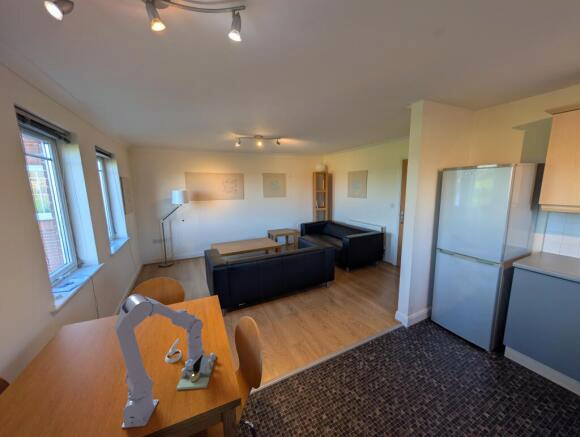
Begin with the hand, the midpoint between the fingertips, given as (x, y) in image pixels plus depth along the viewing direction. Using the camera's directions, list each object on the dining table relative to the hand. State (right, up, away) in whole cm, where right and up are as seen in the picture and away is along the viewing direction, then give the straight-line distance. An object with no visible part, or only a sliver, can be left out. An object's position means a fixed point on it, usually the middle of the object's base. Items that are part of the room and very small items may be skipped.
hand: (196, 371), depth 98 cm
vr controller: (-16, -1, +11) cm, 19 cm away
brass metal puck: (0, -1, -3) cm, 3 cm away
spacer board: (0, -2, +2) cm, 2 cm away
